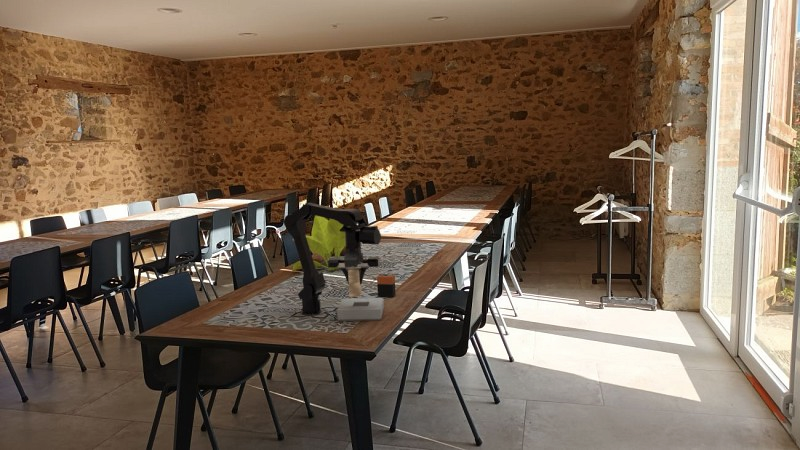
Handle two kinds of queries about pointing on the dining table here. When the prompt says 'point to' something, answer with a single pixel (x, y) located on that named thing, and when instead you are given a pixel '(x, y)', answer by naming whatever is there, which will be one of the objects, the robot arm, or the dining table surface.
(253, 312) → the dining table surface
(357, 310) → the socket block
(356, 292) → the peg
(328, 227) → the artificial plant
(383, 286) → the battery
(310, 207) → the robot arm
